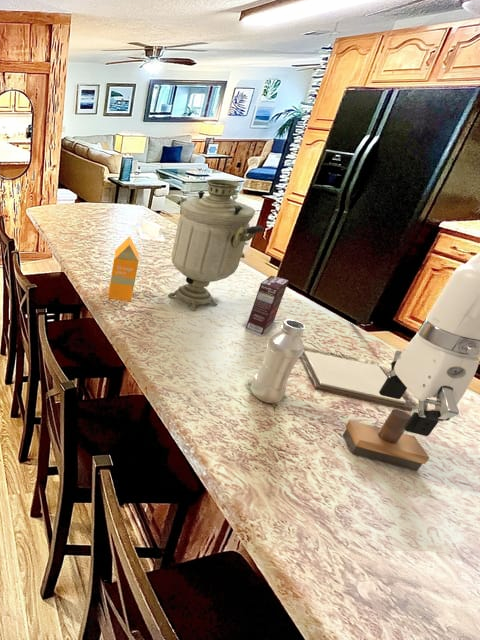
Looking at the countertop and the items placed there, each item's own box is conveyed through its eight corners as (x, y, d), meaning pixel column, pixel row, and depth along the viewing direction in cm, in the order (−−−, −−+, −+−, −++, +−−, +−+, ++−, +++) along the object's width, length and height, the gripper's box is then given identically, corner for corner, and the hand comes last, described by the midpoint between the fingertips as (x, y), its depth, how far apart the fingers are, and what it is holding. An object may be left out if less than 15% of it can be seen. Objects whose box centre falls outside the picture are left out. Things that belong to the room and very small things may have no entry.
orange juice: (107, 298, 132) (116, 243, 123) (109, 286, 139) (117, 234, 130) (131, 301, 130) (142, 246, 121) (131, 290, 137) (141, 237, 128)
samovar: (266, 325, 118) (316, 195, 100) (181, 324, 117) (216, 193, 100) (216, 282, 144) (248, 173, 127) (147, 281, 144) (169, 172, 126)
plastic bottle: (279, 393, 91) (311, 321, 82) (281, 411, 85) (315, 336, 77) (248, 383, 94) (275, 312, 85) (248, 400, 88) (277, 327, 80)
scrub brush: (404, 450, 77) (430, 412, 72) (419, 472, 72) (447, 434, 68) (341, 434, 80) (361, 397, 76) (351, 454, 76) (373, 416, 71)
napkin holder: (137, 229, 200) (139, 218, 197) (160, 230, 198) (162, 220, 195) (141, 238, 187) (143, 227, 184) (165, 240, 185) (168, 229, 182)
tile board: (379, 368, 100) (381, 364, 99) (411, 411, 86) (414, 406, 86) (297, 351, 106) (299, 347, 105) (315, 389, 92) (317, 384, 92)
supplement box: (254, 320, 120) (271, 274, 113) (272, 327, 117) (290, 280, 110) (243, 330, 115) (260, 282, 108) (261, 337, 112) (279, 288, 105)
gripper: (521, 374, 56) (456, 456, 63) (449, 316, 70) (403, 389, 78) (453, 360, 58) (398, 441, 66) (397, 308, 73) (357, 379, 80)
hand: (401, 413), depth 72 cm, fingers open, 9 cm apart
